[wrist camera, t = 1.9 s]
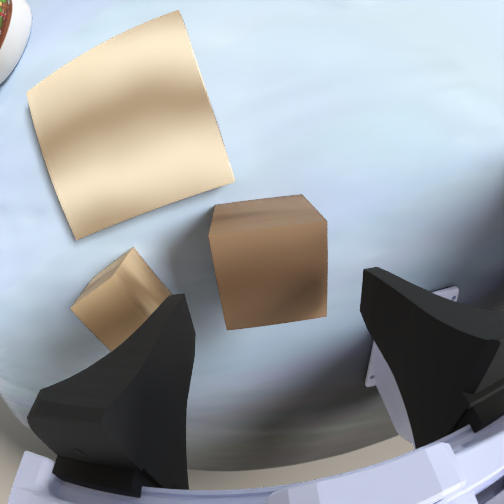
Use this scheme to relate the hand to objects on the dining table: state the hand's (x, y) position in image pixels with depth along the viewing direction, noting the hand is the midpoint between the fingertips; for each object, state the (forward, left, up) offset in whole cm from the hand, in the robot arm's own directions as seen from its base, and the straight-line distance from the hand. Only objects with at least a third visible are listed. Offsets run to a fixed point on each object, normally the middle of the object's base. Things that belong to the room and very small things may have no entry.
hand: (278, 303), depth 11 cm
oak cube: (-2, +9, -7) cm, 11 cm away
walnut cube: (0, 0, -7) cm, 7 cm away
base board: (+8, +7, -7) cm, 13 cm away
